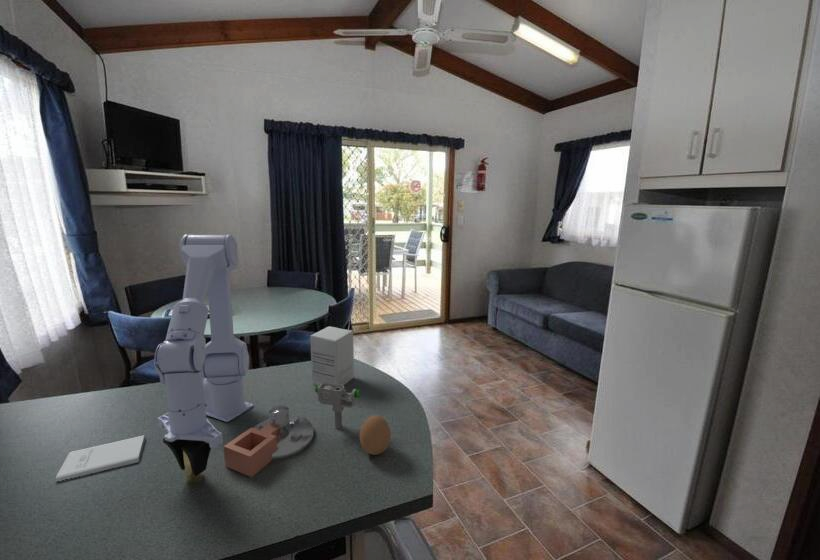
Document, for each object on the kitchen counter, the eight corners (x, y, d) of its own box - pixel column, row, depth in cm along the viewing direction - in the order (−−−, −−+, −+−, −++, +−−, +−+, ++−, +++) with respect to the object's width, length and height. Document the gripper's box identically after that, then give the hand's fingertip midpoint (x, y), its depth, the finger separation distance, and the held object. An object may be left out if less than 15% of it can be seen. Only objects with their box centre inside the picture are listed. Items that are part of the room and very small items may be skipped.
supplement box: (329, 371, 113) (328, 325, 110) (354, 377, 110) (354, 330, 107) (310, 384, 105) (309, 335, 102) (337, 391, 102) (336, 340, 99)
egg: (383, 465, 74) (383, 429, 72) (354, 458, 76) (354, 422, 74) (394, 446, 80) (395, 411, 78) (367, 439, 82) (367, 405, 80)
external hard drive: (139, 464, 73) (56, 485, 68) (145, 440, 80) (71, 457, 75) (138, 457, 73) (54, 477, 67) (144, 434, 80) (69, 450, 74)
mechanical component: (356, 433, 84) (356, 393, 82) (314, 427, 86) (313, 387, 84) (361, 426, 86) (361, 387, 84) (320, 420, 88) (319, 381, 86)
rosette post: (230, 448, 78) (228, 419, 76) (278, 414, 90) (277, 388, 89) (282, 468, 72) (281, 437, 71) (325, 429, 85) (325, 402, 84)
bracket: (225, 466, 72) (223, 446, 72) (263, 437, 81) (262, 419, 80) (251, 477, 70) (250, 456, 69) (288, 446, 79) (287, 427, 78)
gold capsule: (182, 480, 69) (178, 447, 67) (196, 470, 71) (193, 438, 70) (193, 485, 68) (189, 451, 66) (206, 475, 70) (203, 442, 69)
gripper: (137, 404, 65) (146, 471, 68) (193, 425, 60) (201, 497, 63) (175, 386, 72) (183, 448, 74) (230, 404, 66) (235, 470, 69)
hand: (193, 469), depth 69 cm, fingers closed on gold capsule, 3 cm apart
